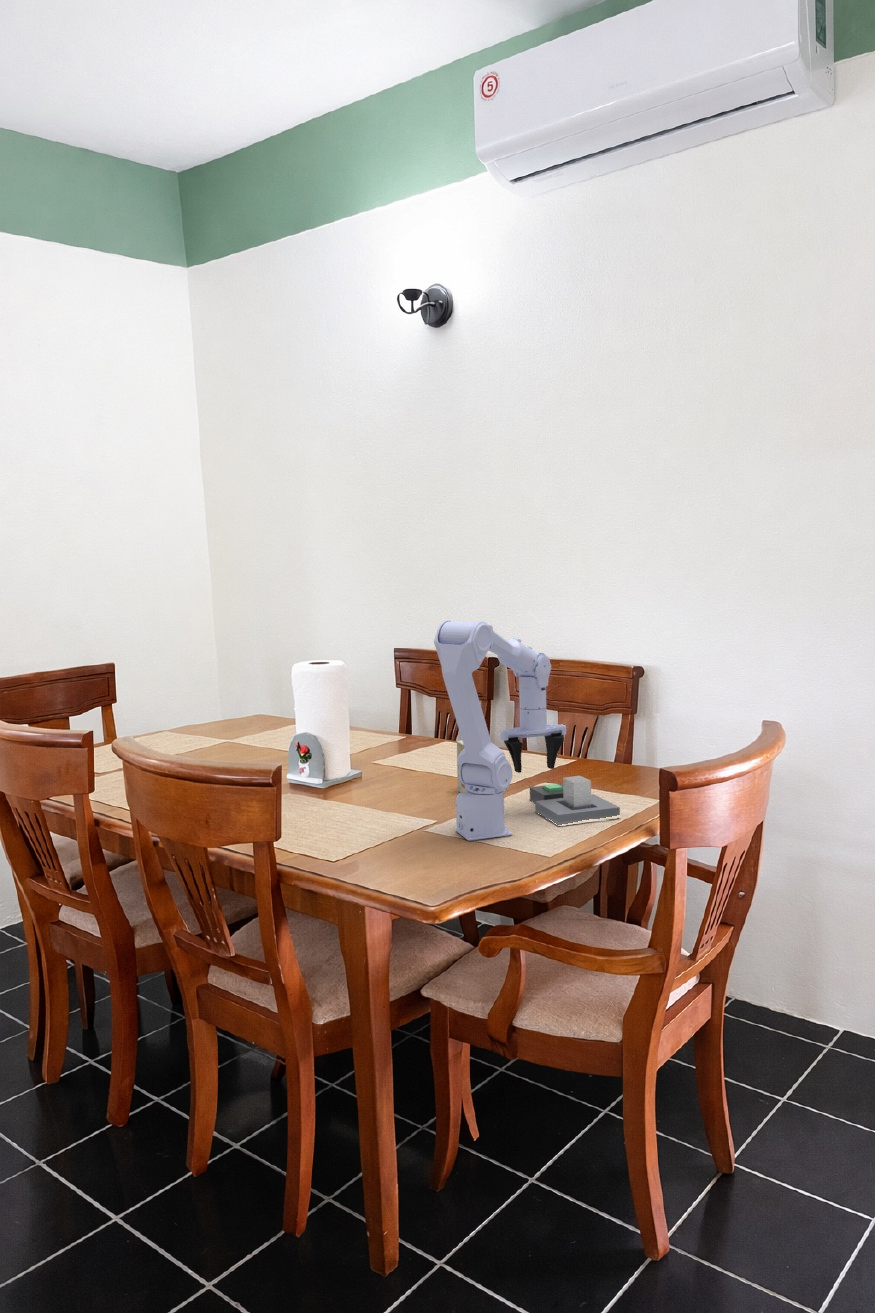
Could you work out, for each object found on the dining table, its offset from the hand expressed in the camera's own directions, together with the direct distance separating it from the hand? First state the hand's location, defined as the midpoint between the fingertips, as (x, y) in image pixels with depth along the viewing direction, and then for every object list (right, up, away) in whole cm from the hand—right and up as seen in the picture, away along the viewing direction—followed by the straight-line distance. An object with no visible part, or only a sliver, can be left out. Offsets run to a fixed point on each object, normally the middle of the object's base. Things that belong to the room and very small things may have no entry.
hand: (534, 770), depth 215 cm
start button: (+5, -7, +9) cm, 12 cm away
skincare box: (-13, -8, +20) cm, 25 cm away
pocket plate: (+9, -9, -2) cm, 13 cm away
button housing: (+5, -8, +9) cm, 13 cm away
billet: (+9, -9, -3) cm, 13 cm away
